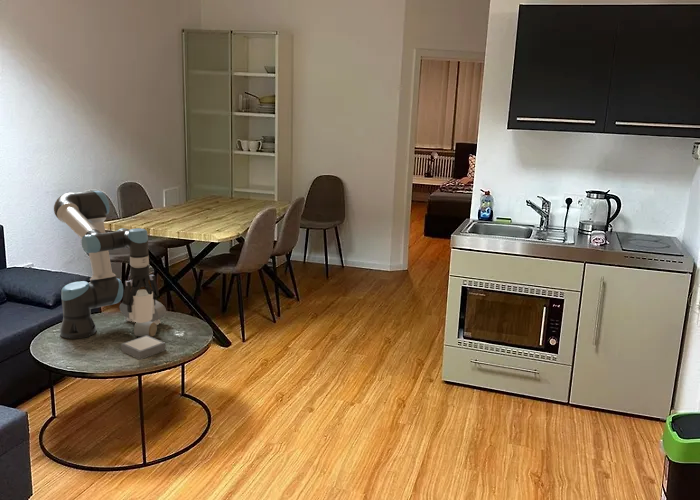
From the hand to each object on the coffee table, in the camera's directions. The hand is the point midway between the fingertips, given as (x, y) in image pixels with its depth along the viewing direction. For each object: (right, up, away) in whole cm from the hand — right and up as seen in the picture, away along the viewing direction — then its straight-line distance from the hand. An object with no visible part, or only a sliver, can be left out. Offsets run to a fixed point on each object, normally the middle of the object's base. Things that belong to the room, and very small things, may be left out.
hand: (142, 315), depth 265 cm
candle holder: (0, -2, 0) cm, 2 cm away
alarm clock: (-12, -7, +37) cm, 39 cm away
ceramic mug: (-5, -11, +21) cm, 25 cm away
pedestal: (-1, -16, +4) cm, 16 cm away
